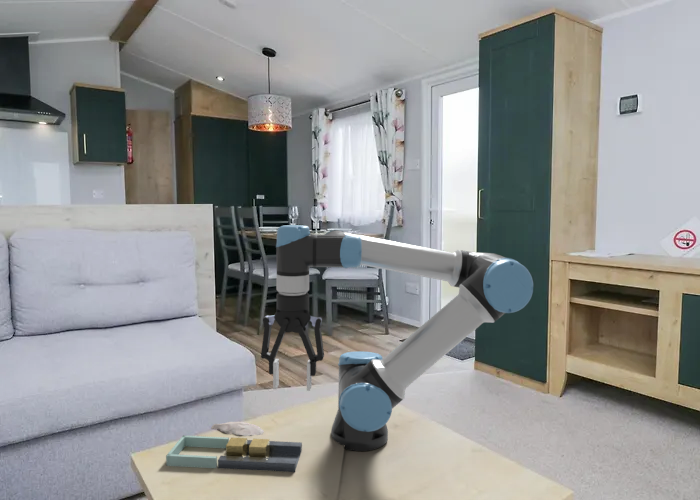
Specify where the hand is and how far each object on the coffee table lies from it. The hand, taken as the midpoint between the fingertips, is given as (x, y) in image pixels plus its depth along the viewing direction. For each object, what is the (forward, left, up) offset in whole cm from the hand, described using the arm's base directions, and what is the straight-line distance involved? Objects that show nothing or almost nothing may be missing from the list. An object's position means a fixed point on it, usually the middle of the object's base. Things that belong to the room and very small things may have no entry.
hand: (292, 387), depth 118 cm
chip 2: (+8, 0, -18) cm, 20 cm away
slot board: (+8, 0, -19) cm, 21 cm away
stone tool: (+18, -15, -20) cm, 30 cm away
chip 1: (+14, 0, -18) cm, 23 cm away
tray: (+23, 0, -19) cm, 30 cm away
